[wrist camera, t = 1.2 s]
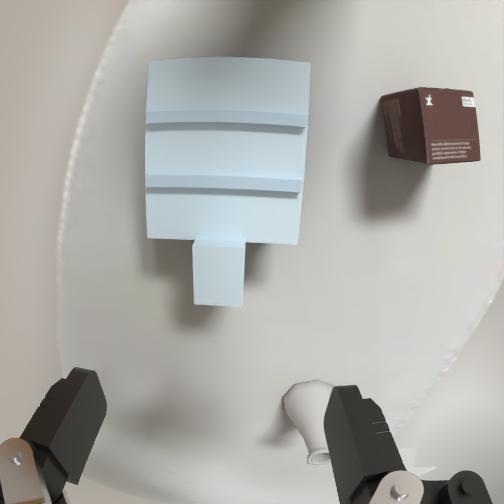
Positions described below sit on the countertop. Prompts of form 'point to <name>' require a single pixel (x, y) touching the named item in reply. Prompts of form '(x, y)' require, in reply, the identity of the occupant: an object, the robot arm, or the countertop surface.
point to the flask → (310, 417)
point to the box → (432, 125)
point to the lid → (225, 161)
